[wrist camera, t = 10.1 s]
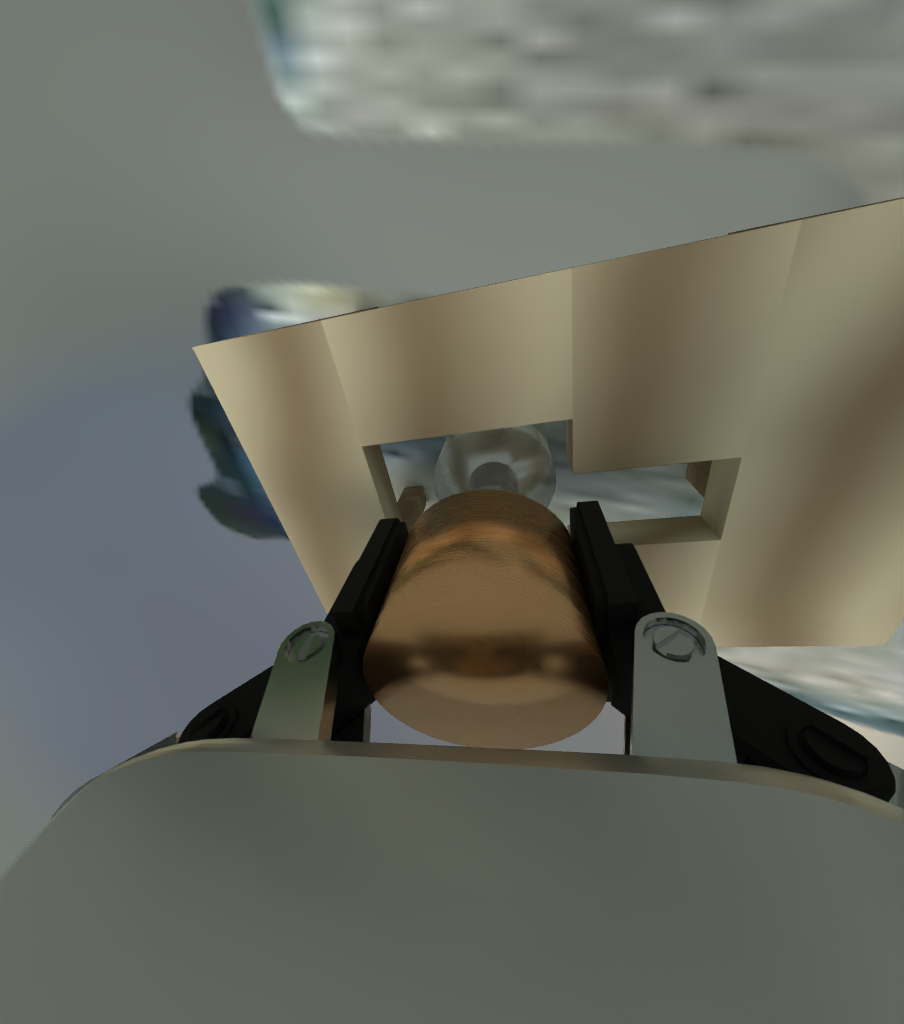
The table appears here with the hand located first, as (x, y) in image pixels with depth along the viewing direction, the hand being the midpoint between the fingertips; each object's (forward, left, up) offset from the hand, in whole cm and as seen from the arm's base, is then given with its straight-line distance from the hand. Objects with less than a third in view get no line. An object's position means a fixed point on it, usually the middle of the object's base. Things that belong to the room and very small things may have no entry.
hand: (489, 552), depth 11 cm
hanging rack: (-3, 0, -16) cm, 16 cm away
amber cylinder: (0, 0, -9) cm, 9 cm away
